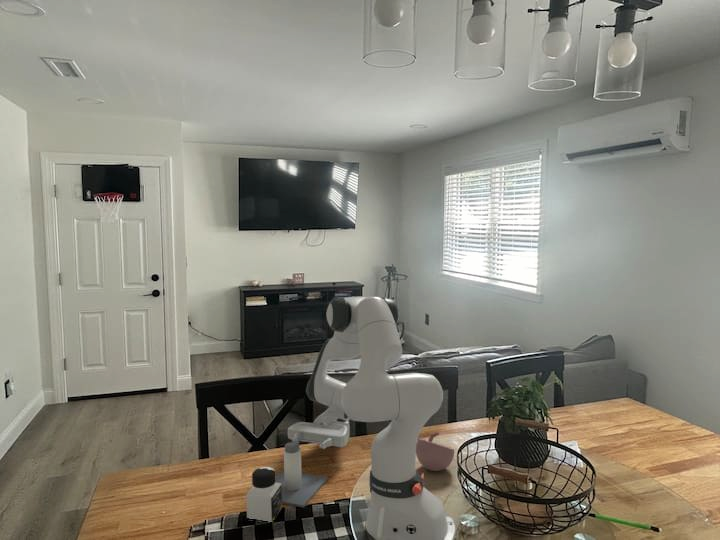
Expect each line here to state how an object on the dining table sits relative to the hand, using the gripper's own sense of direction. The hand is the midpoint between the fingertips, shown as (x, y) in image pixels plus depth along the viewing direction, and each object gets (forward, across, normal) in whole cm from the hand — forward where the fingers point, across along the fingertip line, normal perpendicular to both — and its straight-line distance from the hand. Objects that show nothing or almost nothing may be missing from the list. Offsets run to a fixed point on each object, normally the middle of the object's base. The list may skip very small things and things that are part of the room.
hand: (307, 444), depth 149 cm
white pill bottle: (+10, 0, +8) cm, 13 cm away
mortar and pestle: (-14, +37, +9) cm, 41 cm away
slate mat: (+10, 0, +9) cm, 14 cm away
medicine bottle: (+24, -1, +9) cm, 26 cm away
